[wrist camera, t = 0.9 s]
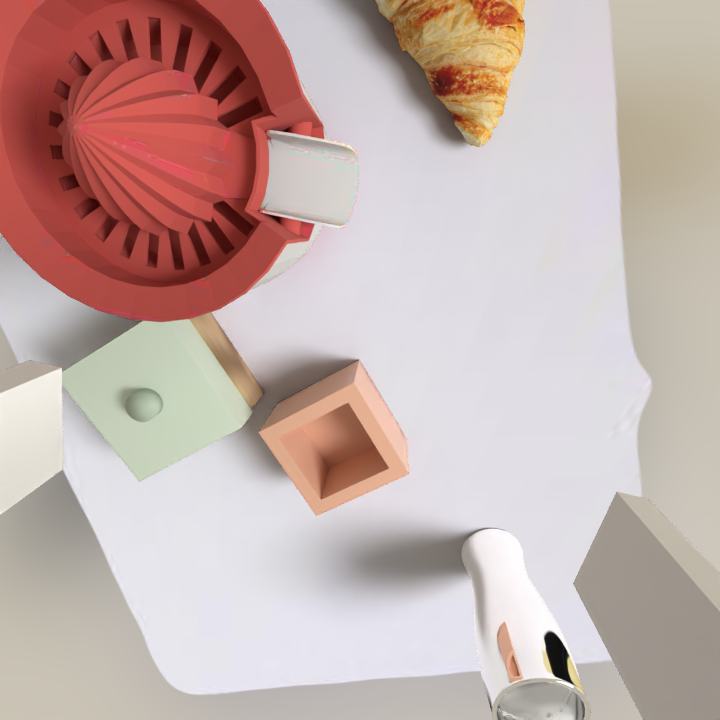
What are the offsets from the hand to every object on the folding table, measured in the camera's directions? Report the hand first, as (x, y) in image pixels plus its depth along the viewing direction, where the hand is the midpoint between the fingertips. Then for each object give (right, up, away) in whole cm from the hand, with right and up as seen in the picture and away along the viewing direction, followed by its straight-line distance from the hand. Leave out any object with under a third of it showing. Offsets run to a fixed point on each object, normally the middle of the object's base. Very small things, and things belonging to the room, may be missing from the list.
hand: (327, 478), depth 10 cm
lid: (-16, 0, +27) cm, 31 cm away
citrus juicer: (-7, +17, +24) cm, 30 cm away
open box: (-1, -3, +30) cm, 30 cm away
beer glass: (+14, -17, +33) cm, 40 cm away
